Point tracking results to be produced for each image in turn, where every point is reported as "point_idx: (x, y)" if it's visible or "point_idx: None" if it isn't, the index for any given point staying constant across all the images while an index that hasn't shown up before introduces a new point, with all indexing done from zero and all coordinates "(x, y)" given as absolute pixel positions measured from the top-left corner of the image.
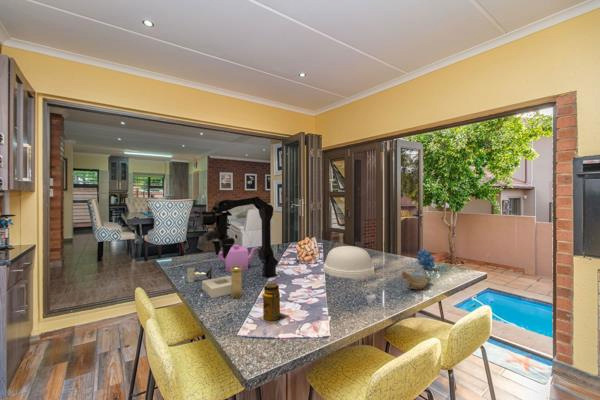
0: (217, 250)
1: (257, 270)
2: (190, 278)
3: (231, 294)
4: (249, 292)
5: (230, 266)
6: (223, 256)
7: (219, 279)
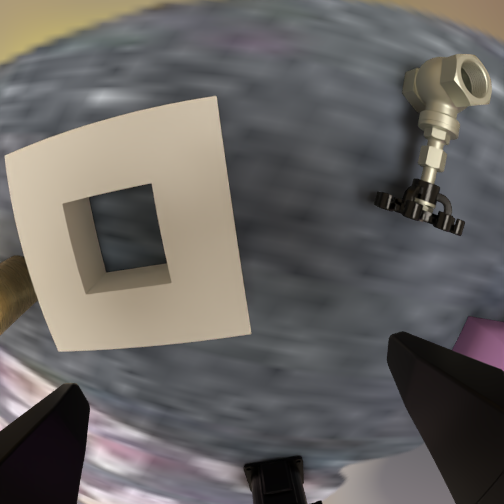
0: (430, 400)
1: (380, 445)
2: (417, 74)
3: (14, 260)
4: (56, 348)
5: (472, 354)
6: (45, 399)
7: (178, 238)
